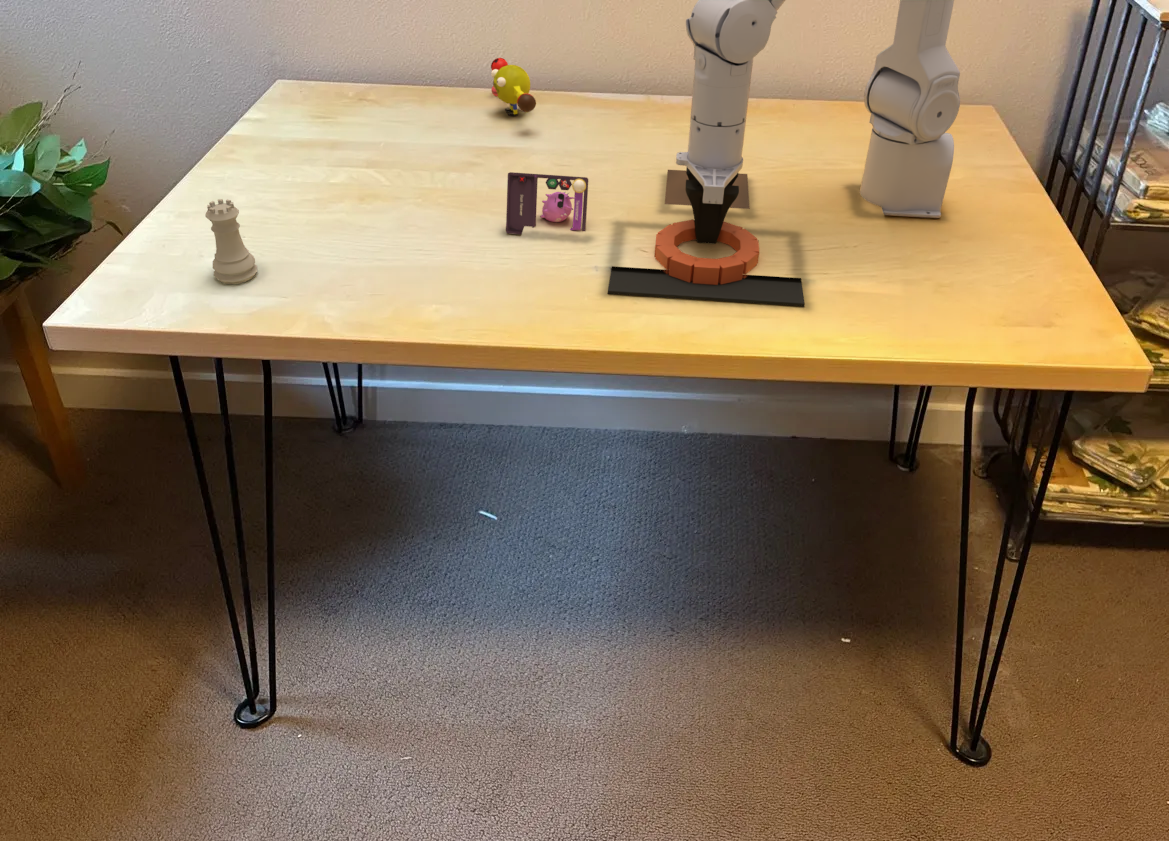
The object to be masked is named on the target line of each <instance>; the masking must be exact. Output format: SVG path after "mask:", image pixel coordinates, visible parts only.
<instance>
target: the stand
mask: <svg viewBox="0 0 1169 841" xmlns="http://www.w3.org/2000/svg"><path fill="white" fill-rule="evenodd" d="M748 178H749V177H748V173H740V172H738V177H737V179H736V180H735V182H734V183H733V185H732V186H739V194H738V196H737V198H736V200H735V201H734V202H733V203H732V205H731V206H730V208H729V209H741V210H742V209H743V210H745V209H746V210H750V208H751V207H750V193H749V192H750V191H749V179H748ZM686 180H689V178H688V176H687V174H686V169H685V170H683V169H667V173H666V184H665V196H664V205H672V206H673V205H674V206H675V205H676V206H691V203H690V200H689V198H688V196H687V193H686V190H685V187H686ZM691 207H692V206H691Z"/></svg>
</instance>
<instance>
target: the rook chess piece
mask: <svg viewBox="0 0 1169 841" xmlns="http://www.w3.org/2000/svg"><path fill="white" fill-rule="evenodd" d="M206 208H207V210H206V212H205V218H206V219H208V220H209V222H211V224H212V225H211V227H210V230H211V231H212V232H213V234H214V235H213V236H214V239H215V248H216V249H215V253H214V258H213V259H212V269H213V270H214V271H213V277H214V278H215V279H216V280H218V281H219V282H221V283H222V284H226V285H236V284H243V283H246V282H248V281H250V280H251V279H253V278H254V277H255V276H256V274H257V272H258V265H256V258H255V257H254V255H253V254H252V253H251V252H250V251H249V249H248V248H247V247H246V246H245V244H244V241H243V239H242V236H241V234H240V226H241V224H240V223H239V222H238V221H237V217H238V216H239V214H240V210H239V209H238V208H237V207H236V206H235V204H234V201H232V200H231V199H228V198H227V199H226V200H225V202H224V199H223V198H219V199H217V204H216V203H215V201H214V200H212V201H209V202H208V204H207V205H206Z"/></svg>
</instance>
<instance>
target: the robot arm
mask: <svg viewBox="0 0 1169 841" xmlns="http://www.w3.org/2000/svg"><path fill="white" fill-rule="evenodd" d="M784 2H786V0H697V2H696V3H695V5H694V7H693V8H692V11H691V15H690V17H687V18H686V19H685V30H686V33H687V37H688V39H689V40H690V41H691V43H692V45H693V60H694V70H693V83H692V96H691V105H690V106H691V107H690V120H689V132H688V144H687V151H679V152H677V153H676V156H675V157H676V158H675V164H676V165H677V166H682V167H683V166H685V167H686V169H685V171H686V174H687V176H688V178H689V180H686V187H685V190H686V193H687V196H688V198H689V200H690V203H691V209H692V214H693V220H694V224H695V234H696V240H695V241H696V243H698V244H708V245H709V244H711V245H716V243H717V242H718V241H717V239H718V237H719V234H720V231H721V228H722V224H723V221H724V222H725V218H726V216H727V213H728V211H729V210H730V209H731V208H730V206H731V205H732V203H733V202H734V201H735V200H736V198H737V196H738V194H739V186H732V185H733V183H734V182H735V180H736V179H737V177H738V173H740V172H741V171H742V169H743V166H744V157H743V149H744V141H745V133H746V124H747V116H748V115H747V114H748V107H749V99H750V92H751V91H750V90H751V83H752V74H753V65H754V58H755V57H756V56H757V55H758V54H759V53H760V52H761V51H763V50H764V49H765V47H766V46H767V44H768V42H769V38H770V36H771V30H772V26H773V23H774V21H775V20H776V19H777V16H776V15H777V14H778V10H780V8H781V7H782V5H783V4H784ZM954 4H955V0H899V6H898V12H897V17H896V24H895V29H894V30H895V31H894V35H893V36H894V37H893V43H892V44H891V45H889V46H888V47H886V48H885V49H883V50H882V51H880V52H879V53H877V55H876V56H875V63H874V68H873V71H872V73H871V75H870V77H869V79H868V81H867V82H866V86H865V88H864V91H863V92H864V93H863V103H864V107H865V109H866V110H867V112H868V113H869V114H870V117H869V122H868V123H869V124H871V126H872V128H871V133H870V138H869V143H868V148H867V152H866V157H865V161H864V162H865V163H864V168H863V173H862V177H861V182H860V189H859V195H860V197H861V198H862V199H863V200H864V201H866V202H867V203H870V204H872V205H875V206H878V207H881V211H882V214H883V216H892V217H893V216H895V217H912V218H928V219H929V218H930V219H939V218H941V216H942V213H941V210H942V206H943V203H944V199H945V194H946V191H947V187H948V183H949V178H950V174H951V171H952V168H953V161H954V154H955V140H954V137H953V134H952V133H950V132H948V130H950V129H951V127H952V126H953V124H954V122H955V121H956V119H957V116H958V114H959V111H960V107H961V106H960V105H961V96H960V92H959V80H960V75H961V72H960V69H959V67H958V66H957V64H956V62H955V60H954V59H953V57H952V55H951V54H950V52H949V50H948V49H947V46H946V45H947V41H948V40H947V39H948V33H949V29H950V24H951V18H952V14H953V7H954Z"/></svg>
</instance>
